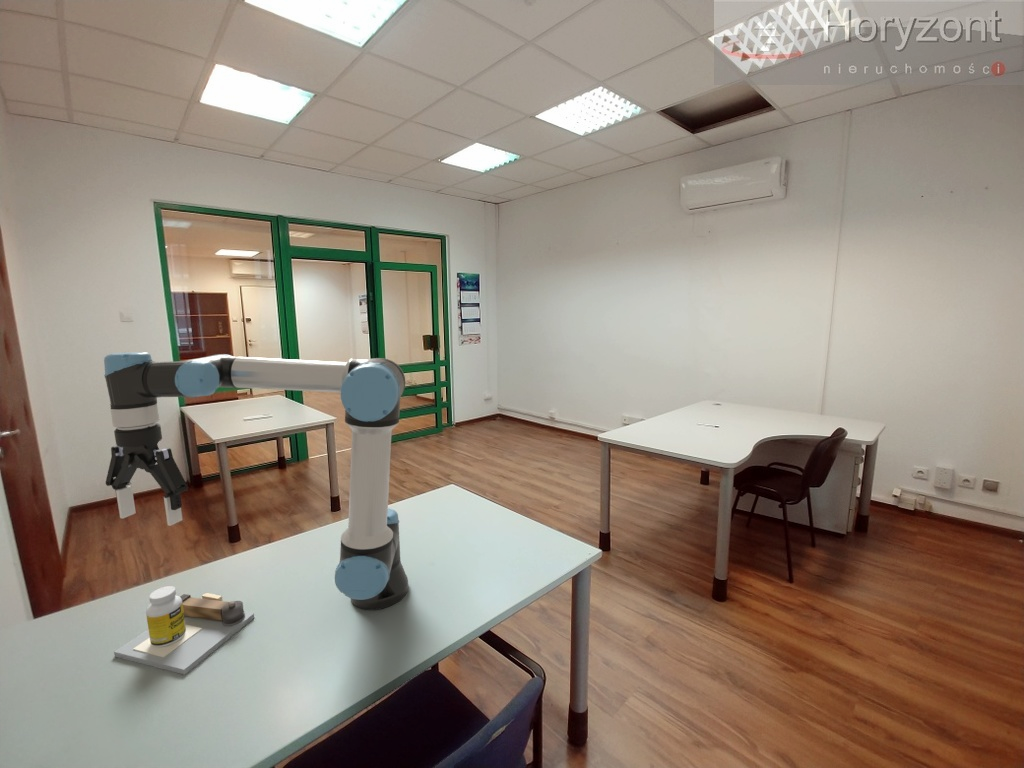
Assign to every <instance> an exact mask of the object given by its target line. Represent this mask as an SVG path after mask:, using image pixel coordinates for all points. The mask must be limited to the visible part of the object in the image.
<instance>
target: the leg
mask: <svg viewBox="0 0 1024 768" xmlns="http://www.w3.org/2000/svg"><path fill="white" fill-rule="evenodd" d="M179 597H180V598H181V599H182V603H183V611H184V616H190V617H197V618H205V619H213V620H221V621H222V620H223V623H225V624H232V623H235V622H237V621H239V620H240V619H242V618H243V616H244V612H245V611H244V610H245V609H244V603H243V601H241V600H231V601H226V600H225V601H224V600H222V601H217V600H209V599H202V598H199V597H191V594H185V593H183V594H181V596H179Z"/></svg>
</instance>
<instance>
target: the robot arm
mask: <svg viewBox="0 0 1024 768" xmlns="http://www.w3.org/2000/svg"><path fill="white" fill-rule="evenodd" d="M103 365H104V366H103V367H104V379H105V382H106V388H107V391H108V396H109V403H110V404H109V405H110V415H111V421H112V426H113V427H114V428H115V429H114V431H113V432H114V438H115V439H114V440H115V445H114V446H112V447H111V448H110V452H111V458H110V461H109V466H108V470H107V475H106V479H105V485H106V486H107V487H110V486H111V487H112V489H113V490H115V496H116V501H117V506H118V507H117V508H118V513H119V518H120V519H126V518H127V517H130V516H133V515H135V514H136V513H137V512H136V511H137V510H136V506H135V505H136V504H135V499H134V494H133V493H134V492H133V486H132V483H131V480H132V479H133V476H134V474H135V473H136V471H137V469H140V470H143V471H145V472H146V473H149V474H150V475H151V476H152V477H153V479H154V480H155V482H156V483H157V484H158V485H159V487H160V488H161V490H162V491H163V492H164V493H165V495H164V496H163V501H164V503H163V504H164V509H165V515H166V517H165V518H166V524H167V526H169V527H171V526H173V525H175V524H178V523H180V522H182V521H183V512H182V507H183V506H182V497H181V493H184V492H186V491H188V490H189V486H188V484H187V482H186V481H185V478H184V476H183V475H182V472H181V470H180V469H179V467H178V465H177V463H176V461H175V459H174V456H173V451H172V449H171V448H170V447H167V448H163V449H160V447H159V445H158V444H159V442H160V441H162V439H163V435H162V427H161V424H160V423H159V421H160V417H159V414H160V413H159V409H158V398H198V397H207V396H209V397H210V396H212V395H213V394H214V393H216V391H217V390H218V388H230V389H231V388H232V389H233V388H234V389H239V388H240V389H255V390H256V389H258V390H259V389H261V390H278V391H279V390H280V391H281V390H283V391H302V392H322V393H323V392H325V393H340V400H341V404H342V406H343V408H344V409H345V410H344V411H345V412H344V423H345V425H347V427H348V428H350V430H351V440H350V441H351V445H350V446H351V448H350V469H349V470H350V473H349V477H350V478H349V497H348V498H349V499H348V501H349V502H348V525H347V526H348V527H347V528H346V529H345V530H344V531H343V532H342V533H341V535H340V536H341V537H340V548H339V549H340V552H339V554H340V555H339V563H338V564H337V566H336V568H335V572H334V584H335V586H336V588H337V590H339V592H340V593H343V595H344V596H345V597H347V598H350V600H351V603H352V604H353V605H354V606H355V607H356V608H358V609H362V610H368V611H370V610H372V611H375V610H381V609H387V608H388V607H391V606H393V605H395V604H397V603H398V602H400V601H402V599H403V598H405V597H406V595H407V594H408V591H409V579H408V576H407V574H406V572H405V568H404V566H403V564H402V561H401V548H400V547H401V544H400V525H399V523H400V520H399V514H398V512H397V511H396V510H395V509H392V508H389V495H390V494H389V491H390V473H391V472H390V470H391V468H390V467H391V452H392V451H391V450H392V449H391V448H392V431H393V430H394V428H396V427H397V426H398V425H399V424H400V414H401V413H400V412H401V411H400V409H401V397H402V395H403V393H404V392H405V388H406V376H405V373H404V371H403V370H402V368H401V366H400V365H398V363H396V362H395V361H393V360H392V359H391V360H390V359H388V358H383V357H376V358H375V357H374V358H350V359H349V360H348V361H346V362H345V361H329V360H328V361H326V360H325V361H324V360H309V359H308V360H306V359H288V358H287V359H286V358H272V357H271V358H269V357H268V358H267V357H249V356H233V355H231V354H225V353H223V354H222V353H221V354H220V353H218V354H216V353H215V354H212V355H207V356H203V357H197V358H192V359H186V360H180V361H179V360H177V361H176V360H175V361H160V362H159V361H154V360H153V358H152V356H151V354H150V353H149V352H147V351H130V352H129V351H128V352H127V351H125V352H113V353H109V354H106V356H105V357H104V358H103Z"/></svg>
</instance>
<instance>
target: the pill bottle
mask: <svg viewBox="0 0 1024 768" xmlns="http://www.w3.org/2000/svg"><path fill="white" fill-rule="evenodd" d="M148 596H149V597H148V599H149V603H150V604H149V605H148V606H147V608H146V612H145V614H146V622H147V629H149V636H150V642H151V644H152V645H153V646H154V647H164V646H168V645H170V644H173V643H175V642H176V641H178V640H179V639H181V638H182V637H183V635H184V634H185V632H186V626H185V618H184V611H183V603H182V599H181V598H180V596H179V595H177V589H176V587H175V586H172V585H169V586H168V585H167V586H166V585H165V586H163V587H159V588H158V589H155V590H153V591H152V592H151V593H150V595H148Z"/></svg>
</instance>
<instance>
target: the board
mask: <svg viewBox="0 0 1024 768" xmlns="http://www.w3.org/2000/svg"><path fill="white" fill-rule="evenodd" d="M201 597H202V598H201V599H209V600H217V601H223V596H222V595H219V594H214V593H209V592H205V593H204V594H202V595H201ZM184 618H185V626H186V632H185V634H184V635H183V637H182V638H181V639H179V640H178V641H176V642H175V643H173V644H170V645H168V646H164V647H154V646H153V645H152V644H151V642H150V636H149V629H148V628H147V629H146V630H144V631H143V632H142V633H140V634H138V635H137V636H135V637H134V638H132V639H131V640H129V641H128V642H126V643H124V645H121V646H120V647H119V648H118V649H116V650H114V651H113V654H114V655H113V656H114V657H116V658H119V659H123V660H127V661H131V662H134V663H138V664H142V665H147V666H149V667H154V668H158V669H160V670H161V669H162V670H165V671H169V672H172V673H177V674H180V675H187V673H189V672H190V671H191V670H193V669H194V668H195V667H196V666H198V664H200V663H201V662H202V661H204V660H205V659H206V658H207V657H208V656H209V655H211V654H212V653H213V652H215V651H216V650H217V649H218V648H220V647H221V646H222V645H223V644H224V643H225V642H226V641H228V640H229V639H231V637H233V636H234V635H236V634H237V632H239V631H240V630H241V629H243V628H244V627H245V626H247V625H248V624H249V623H250V622H251V621H253V620H254V618H255V613H253V612H249V611H244V616H243V618H242V619H240V620H239V621H237V622H235V623H232V624H225V623H223V620H222V621H221V620H213V619H205V618H197V617H190V616H184Z"/></svg>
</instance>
